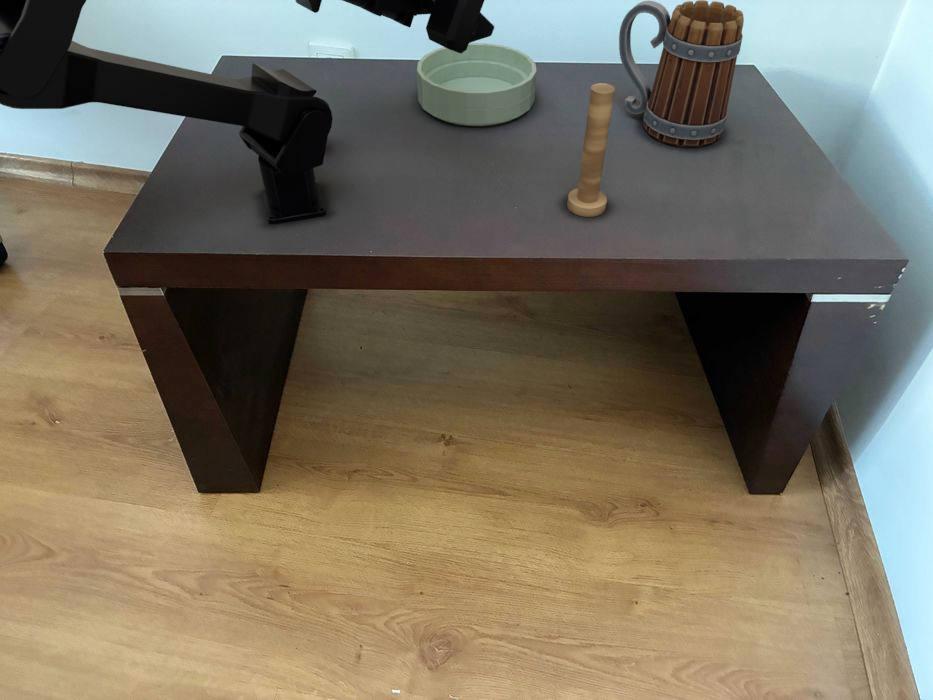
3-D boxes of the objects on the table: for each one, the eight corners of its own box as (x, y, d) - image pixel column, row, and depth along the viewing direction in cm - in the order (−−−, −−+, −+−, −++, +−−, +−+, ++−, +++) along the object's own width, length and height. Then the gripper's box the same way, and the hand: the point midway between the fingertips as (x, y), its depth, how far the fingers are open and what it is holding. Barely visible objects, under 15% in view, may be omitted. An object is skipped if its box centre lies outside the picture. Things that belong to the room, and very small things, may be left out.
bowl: (551, 119, 97) (554, 83, 93) (436, 136, 93) (435, 99, 90) (510, 71, 108) (512, 37, 104) (406, 84, 104) (404, 50, 101)
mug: (732, 123, 96) (765, 6, 86) (709, 157, 90) (741, 35, 79) (623, 96, 102) (641, -16, 91) (594, 127, 95) (610, 9, 85)
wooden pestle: (612, 213, 81) (632, 94, 71) (576, 220, 80) (592, 100, 70) (595, 193, 84) (613, 76, 74) (561, 199, 83) (574, 81, 73)
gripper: (447, -94, 63) (551, -35, 75) (334, -131, 73) (441, -73, 85) (405, 33, 68) (509, 71, 79) (304, -18, 78) (409, 23, 89)
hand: (466, 19), depth 83 cm, fingers open, 9 cm apart
